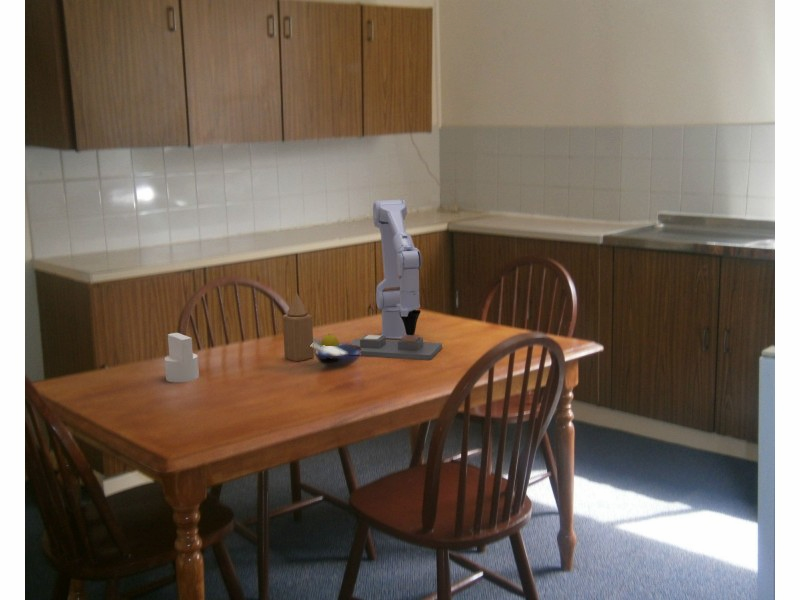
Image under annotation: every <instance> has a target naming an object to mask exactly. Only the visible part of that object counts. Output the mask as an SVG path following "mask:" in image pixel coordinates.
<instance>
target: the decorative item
mask: <svg viewBox="0 0 800 600" xmlns="http://www.w3.org/2000/svg"><path fill="white" fill-rule="evenodd" d="M308 312H309V311H308V310H307V309H306V306H305V305H304V303H303V301H302V300H301V298H300V297H299V294H298V292H296V293H295V295H294V296H293V299H292V301H291V304H290V306H289V308H288V310H287V313H286V314H284V315H282V330H283V331H282V333H283V349H284V350H283V351H284V353H283V354H284V358H285V359H288V360H290V361H294V362H301V361H305V360H309V359H313V358H314V355H315V354H314V353H315V352H314V347H313V348H312V347H310V345H311V344H312V343H313V344H314V333H313V332H314V330H313V316H312V315H311V314H308Z"/></svg>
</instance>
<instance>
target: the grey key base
mask: <svg viewBox="0 0 800 600" xmlns="http://www.w3.org/2000/svg"><path fill="white" fill-rule="evenodd" d="M368 335H369V334H366V335H364V336H363V337H361V338H355V339H353V340H352V341H351V342H349V343H348V344H352V345H358V346H360V347H361V348H362V351H361V355H360V356H359V357H374V358H387V359H388V358H389V359H390V358H391V359H405V360H407V359H408V360H427V361H432V359H433V358H434V357H436V355H437V354H438V353H439V352H440V351H441V350H442V349H443V342H432V341H431V342H427V341H426V342H425V341H424V337H421V336H420V339H419V340H418V341H417V342H407V341H402V338H401V339H398V340H394V339H393V340H392V339H391V340H390V339H389V340H388V339H387V338H386V336H384V335H381V334H380V335H379V334H378V335H379V336H382V337H381V338H380V339H379V340H369V339H364V338H365V337H366V336H368ZM441 348H442V349H441Z"/></svg>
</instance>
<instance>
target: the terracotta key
mask: <svg viewBox="0 0 800 600" xmlns="http://www.w3.org/2000/svg"><path fill="white" fill-rule="evenodd" d="M420 337H421V336H420V334H414V335H407V334H405V335H404V336H403V337H402V341H407V342H417V341H418V340H419V339H420Z"/></svg>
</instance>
